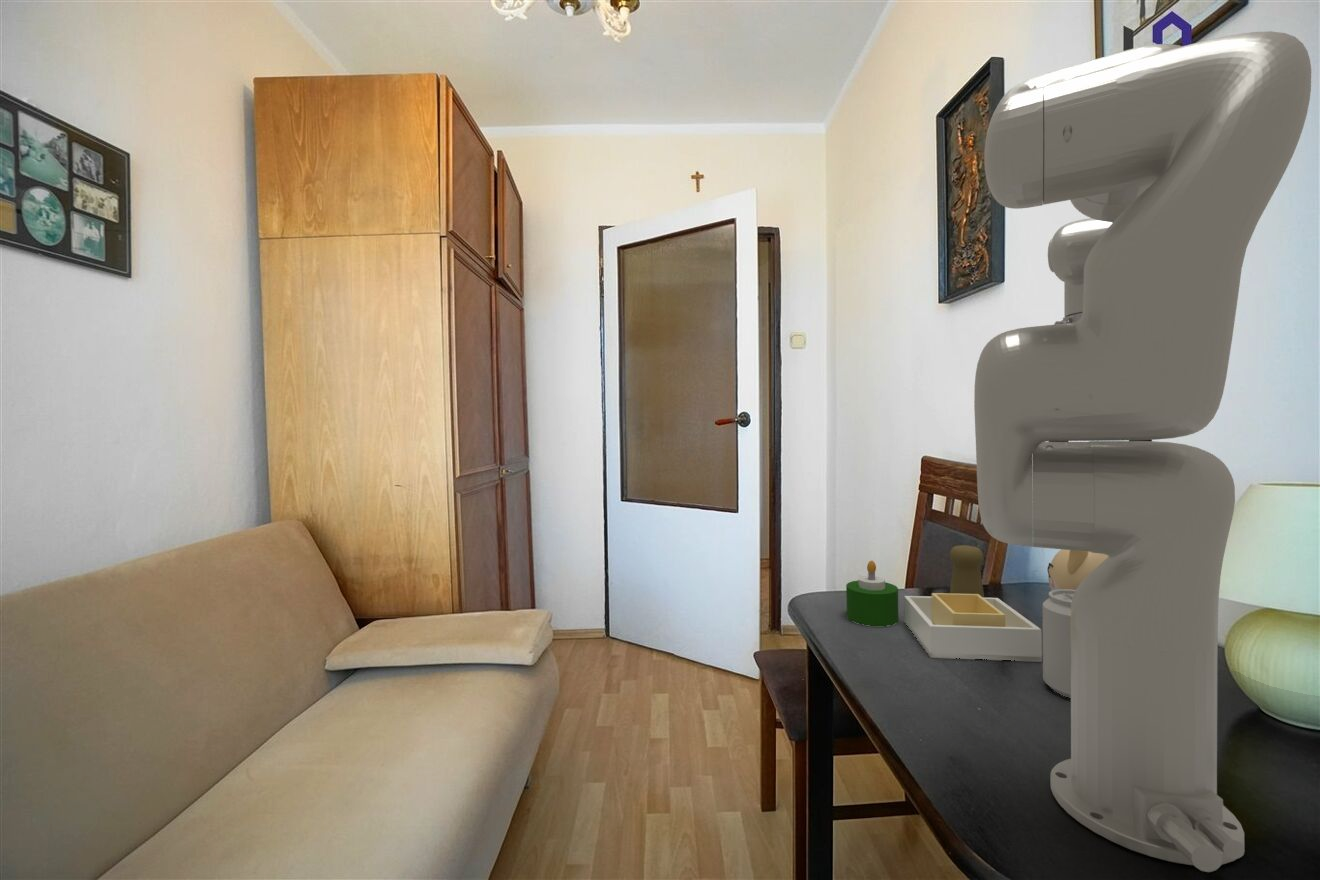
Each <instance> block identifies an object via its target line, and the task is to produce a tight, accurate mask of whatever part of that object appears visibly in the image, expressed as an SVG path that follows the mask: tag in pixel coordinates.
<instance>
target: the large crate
mask: <svg viewBox="0 0 1320 880" xmlns="http://www.w3.org/2000/svg"><path fill="white" fill-rule="evenodd" d="M984 599H985V600H987V601H988V602H989V603H991V604H992V605H993V606H994V607H996V608H997V609H998V610H1000V611H1001V612H1002V613H1004V614H1005V621H1006V627H992V626H958V625H934V624H933V623H932V595H931V596H928V595H927V596H925V595H923V596H922V595H921V596H920V595H904V596H903V616H904V617H903V619H904V620H903V621H904V622H905V623H906V624H905V623H904V624H905V626H906V625H907V626H908V627H909V628H908V627H907V626H906V627H907V628H908V629H910V630H911V631H912V632H911V631H910V630H909V631H910V632H911V634H912V633H913V634H914V635H913V634H912V635H913V636H914V638H915V637H916V638H917V639H916V638H915V639H916V640H917V642H918V641H919V642H918V643H919V644H920V645H922V646H921V647H922V648H923V649H925V650H924V651H925V652H926V654H927V653H928V654H927V655H928V656H929V658H931V659H948V660H949V659H953V660H975V659H983V660H982V661H1002V660H1011V661H1010V662H1035V663H1041V662H1042V663H1043V635H1042V628H1040V627H1039V626H1037V625H1036V624H1035V623H1033V622H1032V621H1030V620H1029V619H1027V618H1026V617H1025V616H1023V615H1022V614H1020V613H1019V612H1018V611H1017V610H1015V609H1013V608H1012V607H1011V606H1009V604H1007V603H1006V602H1004V601H1002V600H1001V599H1000V598H998V597H984ZM956 658H957V659H956ZM959 658H960V659H959ZM984 659H985V660H984ZM986 659H987V660H986ZM1014 660H1015V661H1014Z"/></svg>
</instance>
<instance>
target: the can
mask: <svg viewBox="0 0 1320 880" xmlns="http://www.w3.org/2000/svg"><path fill="white" fill-rule="evenodd" d="M1075 591H1076V590H1071V589H1058V590H1053V591H1049V592H1048V596H1049V597H1048V598H1047V599H1046V600H1045V601H1043V603H1042V679H1043V681H1044V683H1045V684H1046V685H1048V686H1049V687H1050V688H1051V689H1053V690H1054V691H1053V690H1052V691H1053V692H1055V691H1056V692H1057V693H1059V694H1061V695H1060V696H1062V695H1063V696H1062V697H1064V696H1066V697H1069V698H1071V602H1072V598H1073V595H1074V593H1075ZM1056 692H1055V693H1056ZM1057 693H1056V694H1057ZM1059 694H1058V695H1059ZM1066 697H1065V698H1066ZM1069 698H1068V699H1069Z"/></svg>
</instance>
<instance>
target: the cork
mask: <svg viewBox="0 0 1320 880" xmlns="http://www.w3.org/2000/svg"><path fill="white" fill-rule="evenodd" d="M949 557H950V561H951V563H952V564H953V566H952V574H951V579H950V580H951V581H950V586H949V587H950V588H949V589H950V590H949V593H951V594H979V595H980V596H981V597H983V598H985V593H984V586H983V579H982V575H981V574H982V573H981V568H980V566H981V565H982V563H983V562H984V553H983V552H982V550H981V549H980V548H979V547H976V546H973V545H967V544H966V545H965V544H964V545H963V544H961V545H955V546H953V547H951V549H950V551H949Z"/></svg>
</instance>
